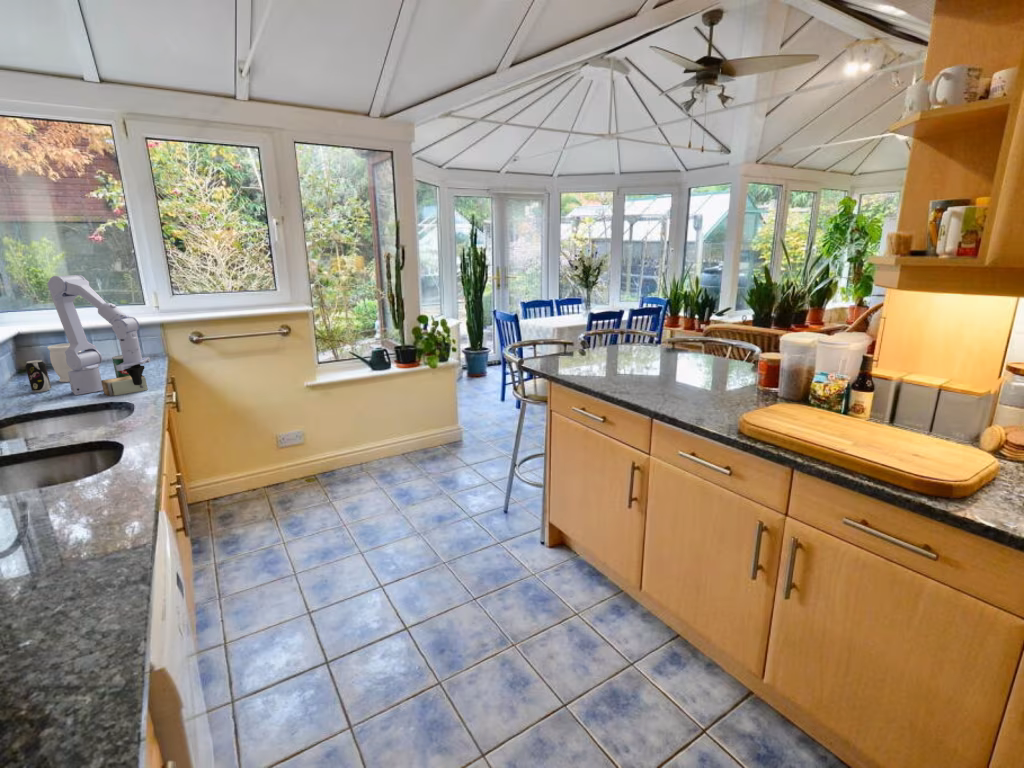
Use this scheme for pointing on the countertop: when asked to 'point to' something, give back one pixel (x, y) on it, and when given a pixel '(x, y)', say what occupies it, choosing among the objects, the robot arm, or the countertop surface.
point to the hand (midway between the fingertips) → (138, 384)
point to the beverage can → (38, 376)
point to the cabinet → (105, 386)
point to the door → (126, 387)
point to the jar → (60, 361)
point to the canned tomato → (117, 361)
